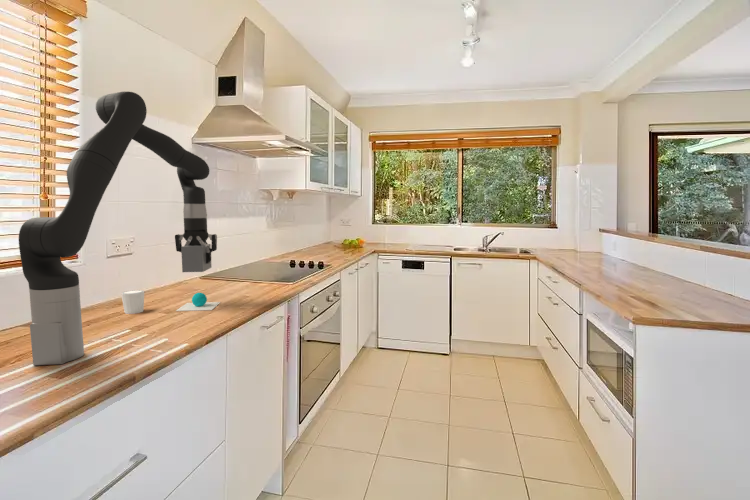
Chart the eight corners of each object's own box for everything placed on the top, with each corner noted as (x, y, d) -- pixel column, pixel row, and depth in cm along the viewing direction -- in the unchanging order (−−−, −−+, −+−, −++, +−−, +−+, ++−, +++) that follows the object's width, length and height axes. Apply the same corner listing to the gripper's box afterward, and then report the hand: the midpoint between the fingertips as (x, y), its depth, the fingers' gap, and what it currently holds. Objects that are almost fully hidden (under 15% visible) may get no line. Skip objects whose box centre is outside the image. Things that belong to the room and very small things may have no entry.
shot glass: (135, 314, 138) (133, 294, 137) (117, 313, 139) (116, 293, 138) (150, 309, 144) (149, 290, 144) (133, 308, 146) (132, 289, 145)
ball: (208, 305, 152) (204, 306, 147) (194, 306, 151) (189, 307, 146) (208, 292, 152) (204, 292, 147) (194, 292, 152) (190, 293, 147)
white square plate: (211, 310, 144) (211, 309, 144) (175, 311, 142) (175, 310, 142) (220, 302, 156) (220, 301, 156) (187, 303, 154) (187, 302, 154)
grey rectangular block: (203, 271, 143) (201, 246, 142) (182, 272, 142) (181, 246, 141) (211, 267, 153) (210, 244, 153) (192, 267, 153) (191, 244, 152)
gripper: (169, 217, 141) (172, 265, 143) (213, 217, 143) (215, 264, 145) (177, 216, 149) (179, 262, 150) (219, 216, 150) (220, 261, 152)
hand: (197, 263), depth 147 cm, fingers closed on grey rectangular block, 7 cm apart
